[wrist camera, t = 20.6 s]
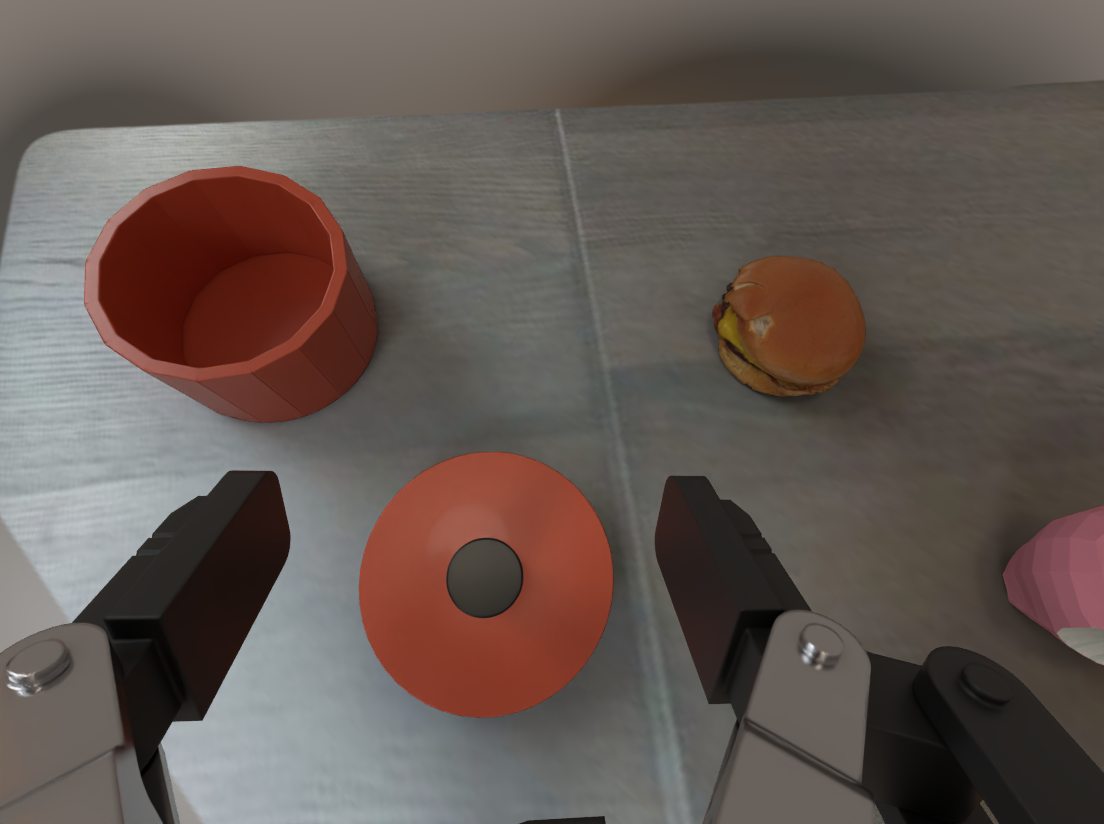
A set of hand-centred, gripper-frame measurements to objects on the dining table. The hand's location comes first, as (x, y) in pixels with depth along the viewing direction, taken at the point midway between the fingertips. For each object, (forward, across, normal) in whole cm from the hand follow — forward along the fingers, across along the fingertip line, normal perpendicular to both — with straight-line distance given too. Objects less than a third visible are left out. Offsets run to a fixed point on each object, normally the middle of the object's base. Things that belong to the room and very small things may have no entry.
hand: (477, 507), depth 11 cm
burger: (+25, -20, +5) cm, 32 cm away
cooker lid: (+12, 0, +14) cm, 18 cm away
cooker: (+24, +14, +5) cm, 29 cm away
